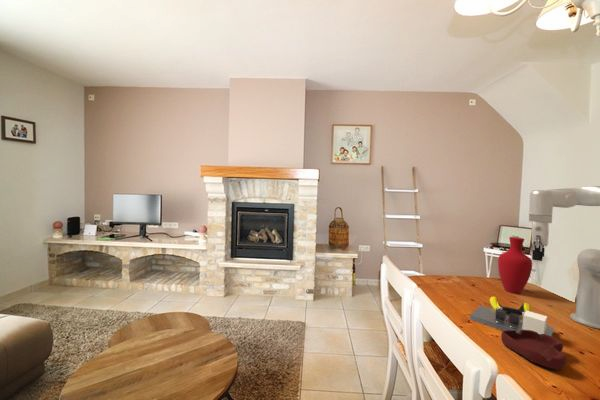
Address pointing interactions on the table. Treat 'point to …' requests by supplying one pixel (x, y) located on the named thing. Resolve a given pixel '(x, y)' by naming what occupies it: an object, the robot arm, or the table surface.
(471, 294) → the table surface
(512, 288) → the vase
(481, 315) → the panel
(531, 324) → the chalk-white cube
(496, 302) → the gaming controller
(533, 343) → the ashtray
